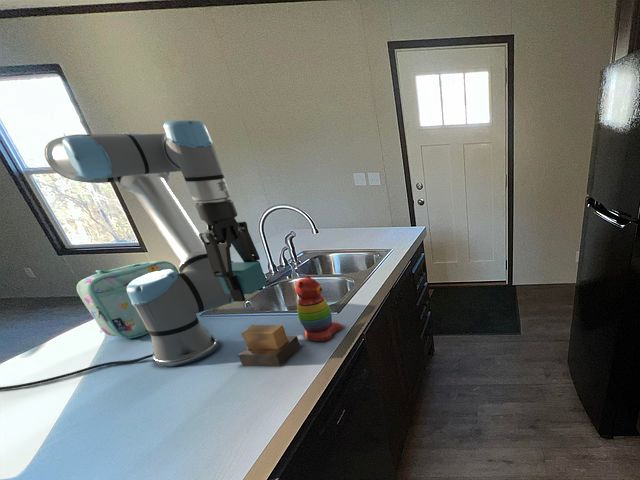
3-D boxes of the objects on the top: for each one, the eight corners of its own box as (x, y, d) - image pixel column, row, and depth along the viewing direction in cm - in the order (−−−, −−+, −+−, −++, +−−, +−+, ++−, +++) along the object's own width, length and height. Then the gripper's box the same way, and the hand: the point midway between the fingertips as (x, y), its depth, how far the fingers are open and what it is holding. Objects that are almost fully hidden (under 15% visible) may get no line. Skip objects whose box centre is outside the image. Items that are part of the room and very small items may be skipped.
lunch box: (120, 346, 117) (79, 280, 106) (101, 342, 120) (59, 277, 109) (202, 312, 138) (175, 254, 127) (184, 309, 141) (156, 252, 130)
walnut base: (242, 365, 103) (237, 354, 101) (265, 346, 112) (261, 335, 111) (280, 366, 102) (276, 354, 100) (300, 346, 111) (297, 335, 109)
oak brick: (248, 349, 104) (241, 333, 101) (258, 340, 108) (252, 324, 105) (278, 349, 103) (272, 333, 100) (288, 340, 107) (282, 324, 104)
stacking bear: (326, 342, 113) (310, 285, 104) (296, 340, 115) (278, 284, 106) (344, 326, 122) (331, 272, 113) (316, 325, 124) (301, 272, 115)
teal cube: (225, 294, 95) (215, 270, 91) (242, 284, 100) (234, 262, 97) (251, 294, 94) (242, 270, 91) (267, 284, 100) (259, 261, 97)
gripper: (196, 207, 77) (238, 310, 89) (254, 193, 94) (283, 281, 106) (163, 208, 78) (209, 310, 90) (227, 194, 95) (258, 282, 107)
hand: (249, 295), depth 98 cm, fingers closed on teal cube, 7 cm apart
